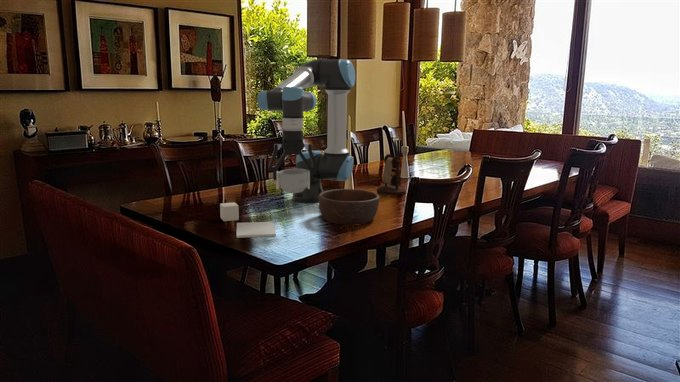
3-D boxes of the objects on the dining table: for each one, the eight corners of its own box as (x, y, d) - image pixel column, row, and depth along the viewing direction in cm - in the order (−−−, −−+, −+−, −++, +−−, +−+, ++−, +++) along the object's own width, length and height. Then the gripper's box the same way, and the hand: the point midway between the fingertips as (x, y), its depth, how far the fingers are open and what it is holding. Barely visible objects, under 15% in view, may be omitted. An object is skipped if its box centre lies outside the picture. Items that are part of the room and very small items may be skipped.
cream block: (234, 216, 213) (234, 202, 212) (238, 220, 208) (238, 205, 207) (220, 217, 210) (220, 203, 209) (224, 221, 205) (223, 206, 204)
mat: (273, 223, 203) (273, 221, 203) (275, 236, 187) (275, 234, 187) (236, 224, 201) (236, 222, 200) (236, 237, 184) (236, 235, 184)
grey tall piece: (370, 192, 263) (372, 153, 259) (394, 190, 270) (396, 152, 266) (387, 198, 250) (389, 157, 246) (411, 195, 257) (413, 156, 253)
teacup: (303, 195, 186) (303, 173, 184) (275, 194, 188) (274, 172, 186) (313, 187, 199) (313, 167, 197) (286, 186, 201) (285, 166, 199)
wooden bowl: (332, 230, 196) (332, 204, 194) (309, 214, 218) (309, 190, 216) (389, 224, 206) (390, 199, 204) (362, 209, 228) (363, 186, 226)
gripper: (260, 130, 183) (261, 191, 187) (325, 130, 187) (325, 189, 192) (260, 128, 190) (261, 187, 194) (322, 128, 194) (322, 185, 199)
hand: (293, 188), depth 193 cm, fingers closed on teacup, 11 cm apart
